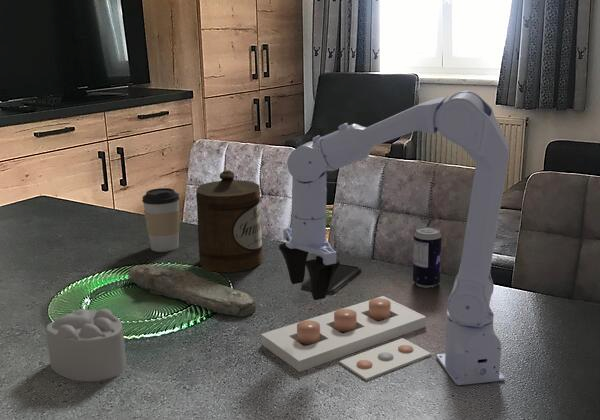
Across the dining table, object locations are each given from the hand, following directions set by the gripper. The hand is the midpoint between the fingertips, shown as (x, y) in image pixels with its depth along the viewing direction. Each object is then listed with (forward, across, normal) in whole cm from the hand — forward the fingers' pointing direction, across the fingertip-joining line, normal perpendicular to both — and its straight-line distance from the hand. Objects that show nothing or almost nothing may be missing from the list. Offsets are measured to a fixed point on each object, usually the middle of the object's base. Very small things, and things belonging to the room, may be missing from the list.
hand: (308, 290), depth 117 cm
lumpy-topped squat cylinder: (+12, -13, -34) cm, 38 cm away
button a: (+8, 0, +15) cm, 17 cm away
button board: (+10, +1, +8) cm, 13 cm away
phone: (+11, -24, +20) cm, 33 cm away
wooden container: (+12, -46, +6) cm, 48 cm away
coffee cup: (+12, -64, -4) cm, 66 cm away
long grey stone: (+12, -32, -10) cm, 36 cm away
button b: (+8, +1, +7) cm, 11 cm away
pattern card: (+10, +12, +8) cm, 17 cm away
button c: (+8, +1, -1) cm, 9 cm away
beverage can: (+10, -10, +35) cm, 38 cm away
